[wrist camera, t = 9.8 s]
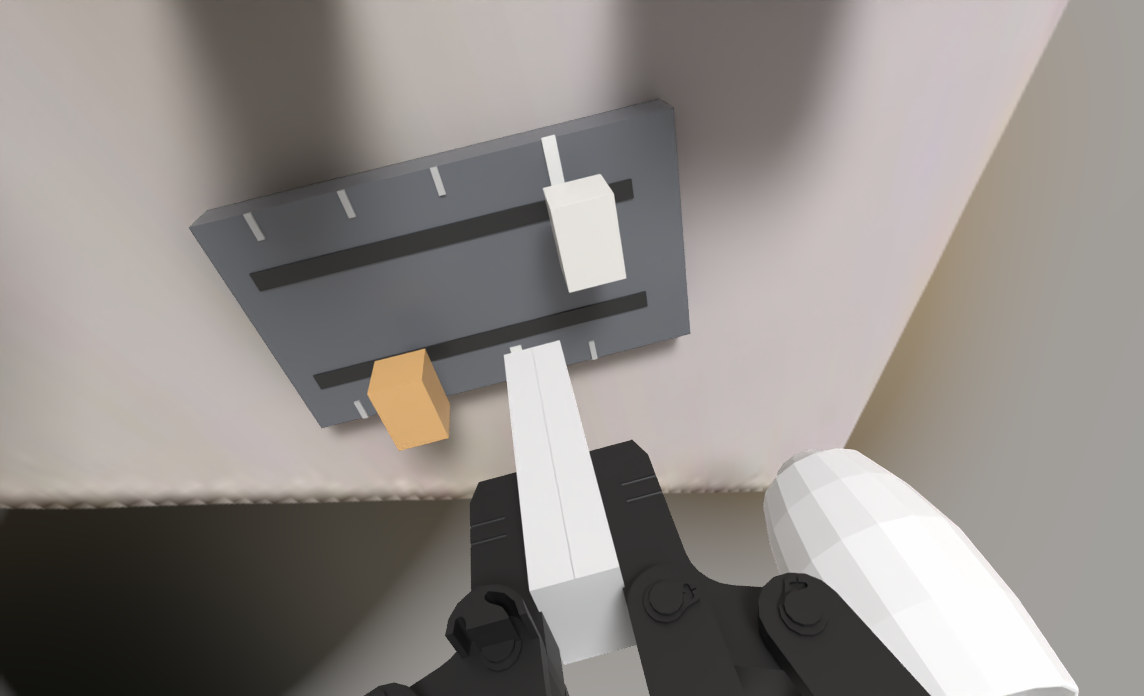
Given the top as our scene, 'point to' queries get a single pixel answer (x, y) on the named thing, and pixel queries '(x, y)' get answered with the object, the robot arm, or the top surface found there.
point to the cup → (908, 577)
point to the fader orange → (410, 399)
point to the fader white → (586, 232)
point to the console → (456, 260)
